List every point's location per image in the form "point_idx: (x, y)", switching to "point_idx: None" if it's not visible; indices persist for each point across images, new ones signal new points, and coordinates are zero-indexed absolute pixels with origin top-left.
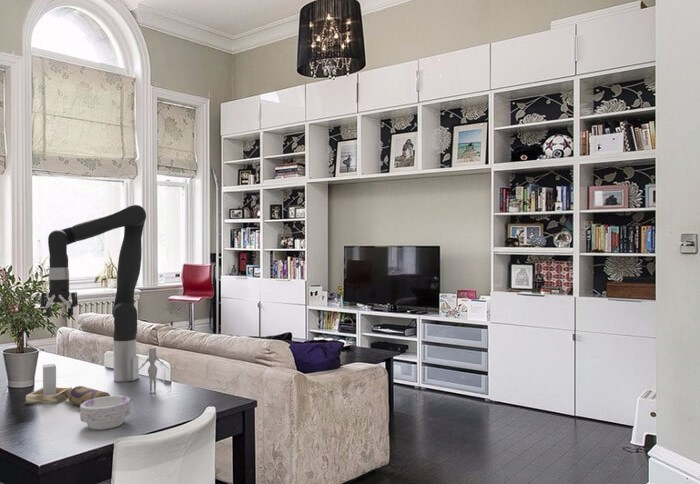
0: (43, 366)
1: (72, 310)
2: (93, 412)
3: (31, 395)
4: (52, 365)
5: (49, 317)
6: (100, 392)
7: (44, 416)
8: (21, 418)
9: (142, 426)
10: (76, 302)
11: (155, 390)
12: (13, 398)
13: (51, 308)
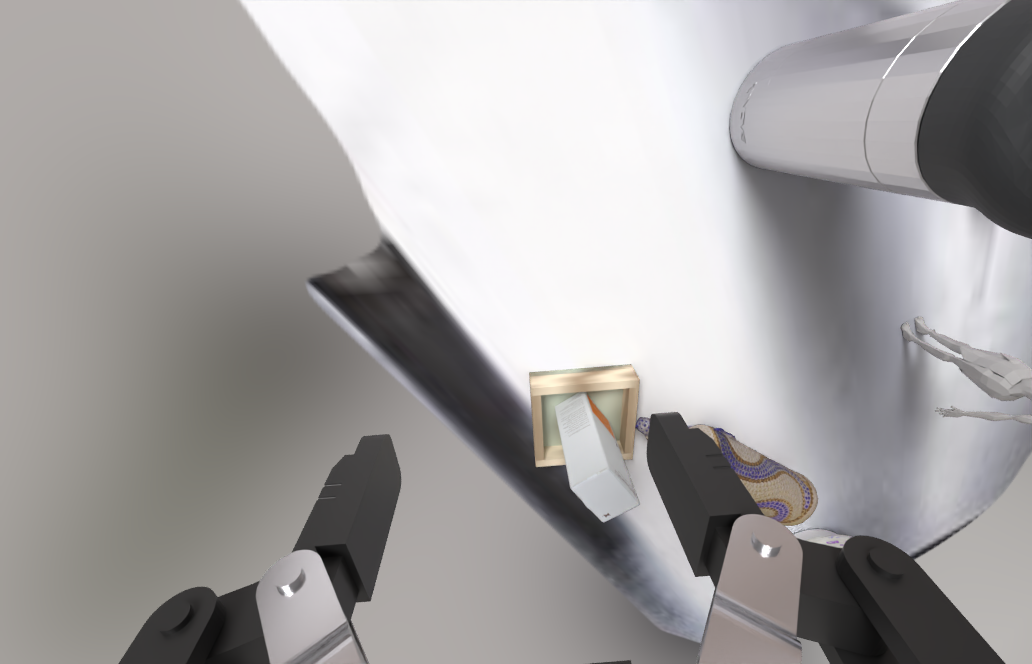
0: (590, 509)
1: (741, 502)
2: None
3: (554, 465)
4: (619, 496)
5: (399, 469)
6: (801, 521)
7: (645, 519)
8: (598, 533)
9: None
10: (935, 632)
11: (932, 331)
12: (456, 409)
13: (349, 539)
